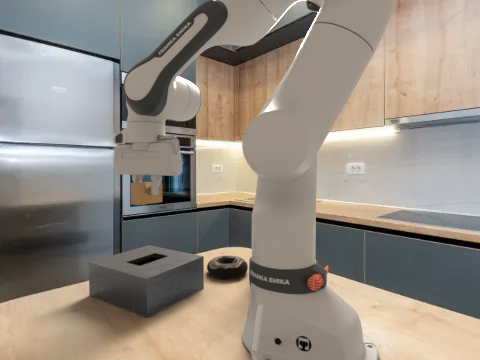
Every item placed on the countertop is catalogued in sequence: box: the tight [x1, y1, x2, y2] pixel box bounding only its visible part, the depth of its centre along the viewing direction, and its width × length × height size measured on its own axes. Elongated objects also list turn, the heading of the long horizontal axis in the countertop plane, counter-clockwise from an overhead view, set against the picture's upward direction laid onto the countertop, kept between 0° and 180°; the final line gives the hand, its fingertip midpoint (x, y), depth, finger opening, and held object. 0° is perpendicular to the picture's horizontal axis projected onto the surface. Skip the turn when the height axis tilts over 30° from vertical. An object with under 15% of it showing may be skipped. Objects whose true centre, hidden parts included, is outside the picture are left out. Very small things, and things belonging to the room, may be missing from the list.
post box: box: [88, 244, 205, 319], centre depth 73 cm, size 20×18×8 cm
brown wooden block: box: [130, 181, 163, 206], centre depth 72 cm, size 3×7×5 cm, turn 148°
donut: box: [206, 255, 249, 280], centre depth 86 cm, size 12×12×4 cm
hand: (147, 194), depth 72 cm, fingers closed on brown wooden block, 3 cm apart
